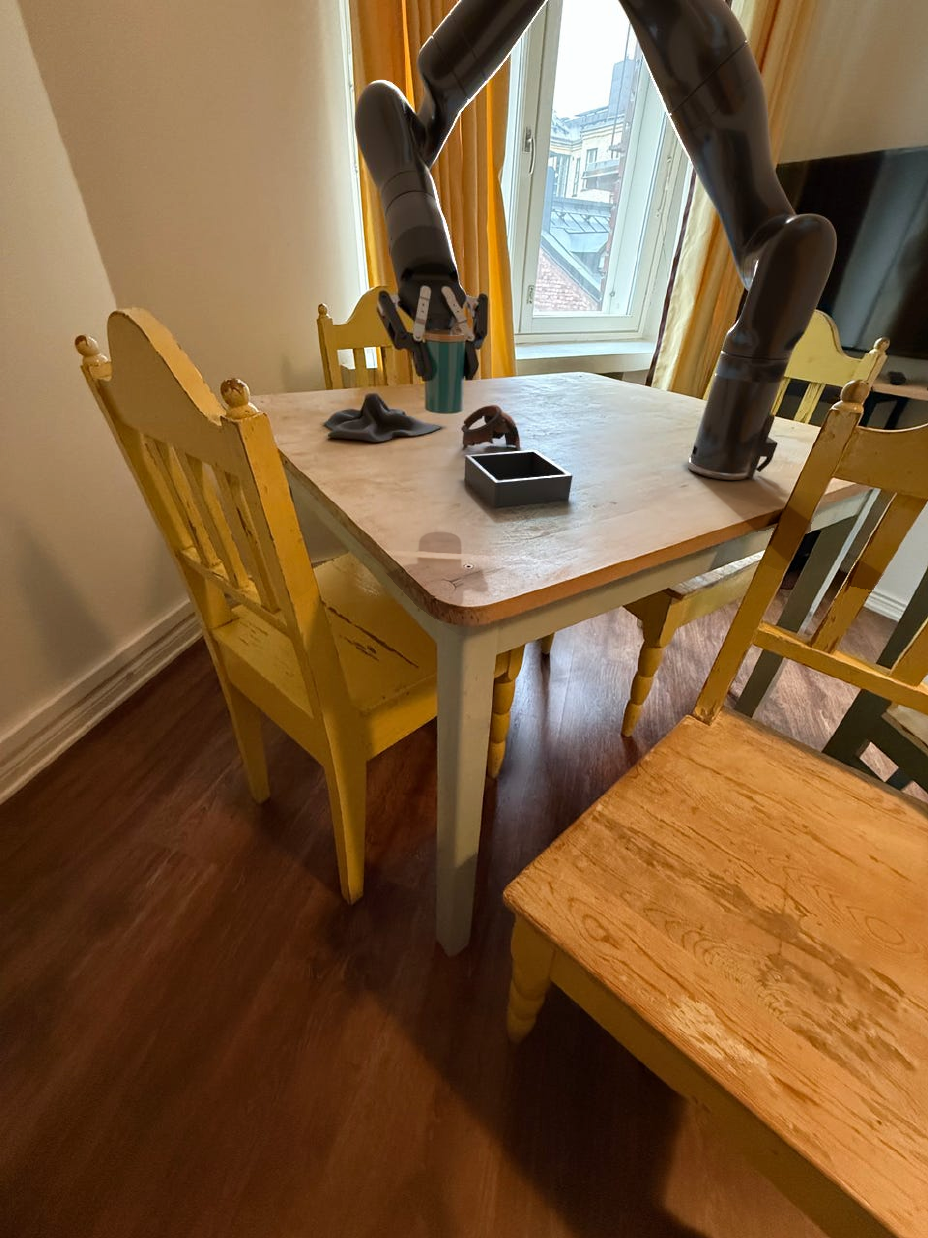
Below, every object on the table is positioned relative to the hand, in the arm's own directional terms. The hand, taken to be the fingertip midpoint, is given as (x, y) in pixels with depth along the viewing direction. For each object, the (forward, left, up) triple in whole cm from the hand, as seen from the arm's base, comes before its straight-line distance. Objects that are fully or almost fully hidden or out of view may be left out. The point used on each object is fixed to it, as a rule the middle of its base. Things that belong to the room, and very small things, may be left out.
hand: (449, 376), depth 61 cm
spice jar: (+1, -2, -4) cm, 4 cm away
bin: (-9, -5, -16) cm, 19 cm away
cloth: (+15, -35, -16) cm, 41 cm away
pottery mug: (-6, -25, -16) cm, 30 cm away
